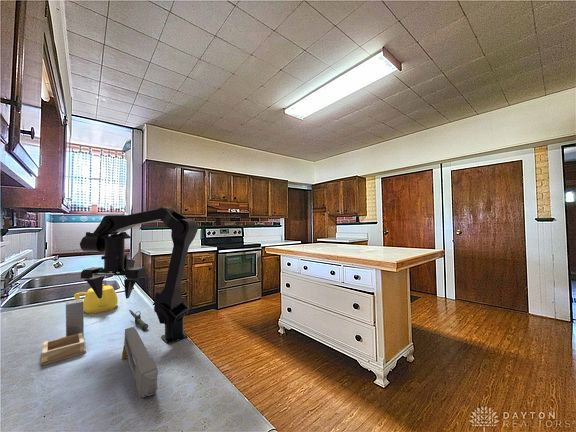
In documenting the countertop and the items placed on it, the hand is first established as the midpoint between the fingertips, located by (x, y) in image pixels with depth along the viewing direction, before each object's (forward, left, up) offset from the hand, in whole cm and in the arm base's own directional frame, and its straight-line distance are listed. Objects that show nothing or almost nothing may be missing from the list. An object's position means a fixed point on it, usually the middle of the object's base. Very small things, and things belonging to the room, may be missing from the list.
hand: (113, 298), depth 86 cm
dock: (-2, +13, -13) cm, 18 cm away
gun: (-31, 0, -13) cm, 33 cm away
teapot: (+39, +1, -13) cm, 41 cm away
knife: (+6, -8, -13) cm, 17 cm away
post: (+9, +10, -13) cm, 18 cm away
